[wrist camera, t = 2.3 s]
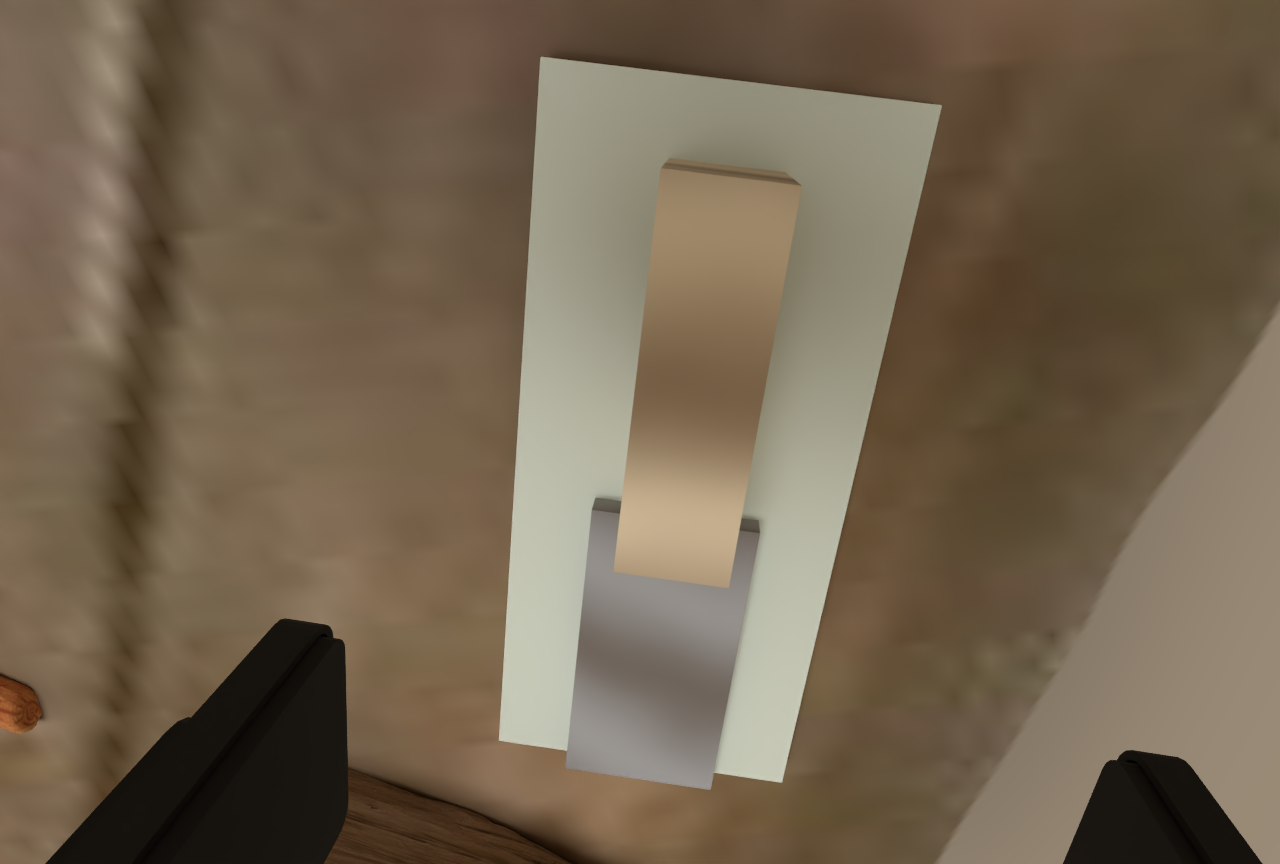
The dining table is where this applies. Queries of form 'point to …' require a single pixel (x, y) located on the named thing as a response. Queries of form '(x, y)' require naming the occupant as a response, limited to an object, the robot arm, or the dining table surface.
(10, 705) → the axe
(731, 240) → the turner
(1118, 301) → the dining table surface
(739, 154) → the board
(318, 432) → the dining table surface
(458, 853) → the wood plank
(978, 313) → the dining table surface
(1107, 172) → the dining table surface
